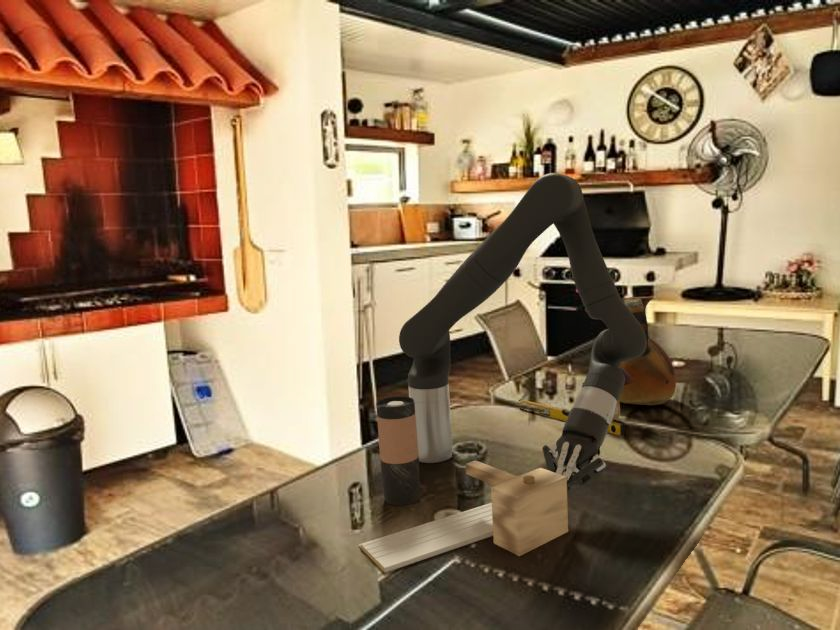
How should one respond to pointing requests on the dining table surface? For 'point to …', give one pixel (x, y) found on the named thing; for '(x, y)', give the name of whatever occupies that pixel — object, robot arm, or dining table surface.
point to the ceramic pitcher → (647, 366)
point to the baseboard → (430, 538)
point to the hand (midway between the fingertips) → (555, 501)
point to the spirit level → (562, 415)
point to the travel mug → (398, 450)
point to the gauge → (524, 506)
